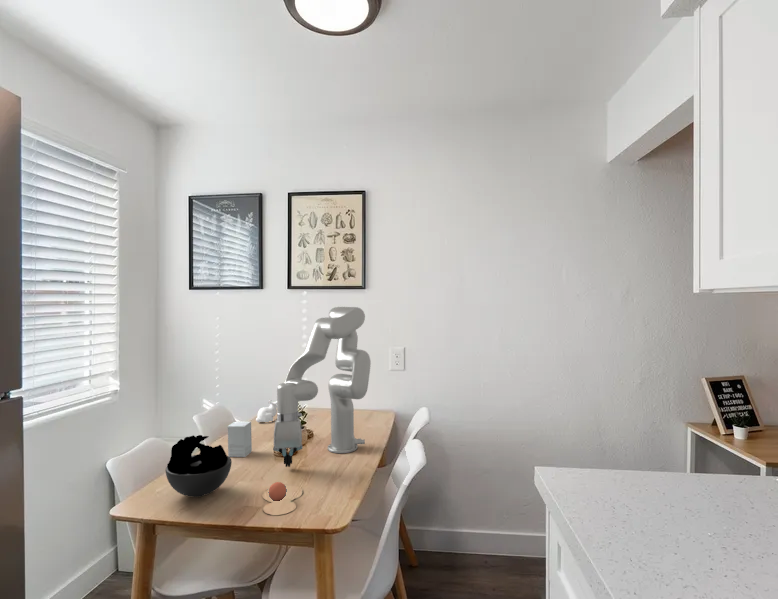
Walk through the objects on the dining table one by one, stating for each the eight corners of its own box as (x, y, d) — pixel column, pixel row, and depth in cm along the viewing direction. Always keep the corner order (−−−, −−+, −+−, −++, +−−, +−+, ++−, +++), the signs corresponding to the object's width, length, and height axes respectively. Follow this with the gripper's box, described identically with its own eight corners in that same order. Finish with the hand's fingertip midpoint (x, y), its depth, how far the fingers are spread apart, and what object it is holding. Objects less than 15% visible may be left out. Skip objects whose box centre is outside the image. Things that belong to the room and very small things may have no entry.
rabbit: (272, 418, 246) (272, 395, 246) (283, 421, 239) (282, 398, 239) (252, 422, 237) (252, 399, 237) (262, 426, 230) (262, 402, 230)
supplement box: (252, 451, 193) (252, 421, 193) (245, 457, 185) (244, 426, 185) (235, 450, 193) (235, 420, 193) (227, 457, 186) (227, 425, 186)
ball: (284, 496, 142) (286, 504, 146) (286, 478, 146) (288, 486, 150) (266, 496, 142) (268, 504, 146) (268, 479, 146) (270, 486, 150)
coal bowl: (184, 481, 161) (183, 428, 161) (240, 482, 161) (240, 428, 161) (153, 508, 141) (152, 446, 141) (217, 508, 141) (216, 447, 141)
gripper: (308, 413, 177) (308, 461, 177) (268, 414, 175) (268, 463, 175) (307, 418, 169) (307, 468, 169) (265, 420, 167) (266, 470, 167)
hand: (288, 465), depth 172 cm, fingers closed
